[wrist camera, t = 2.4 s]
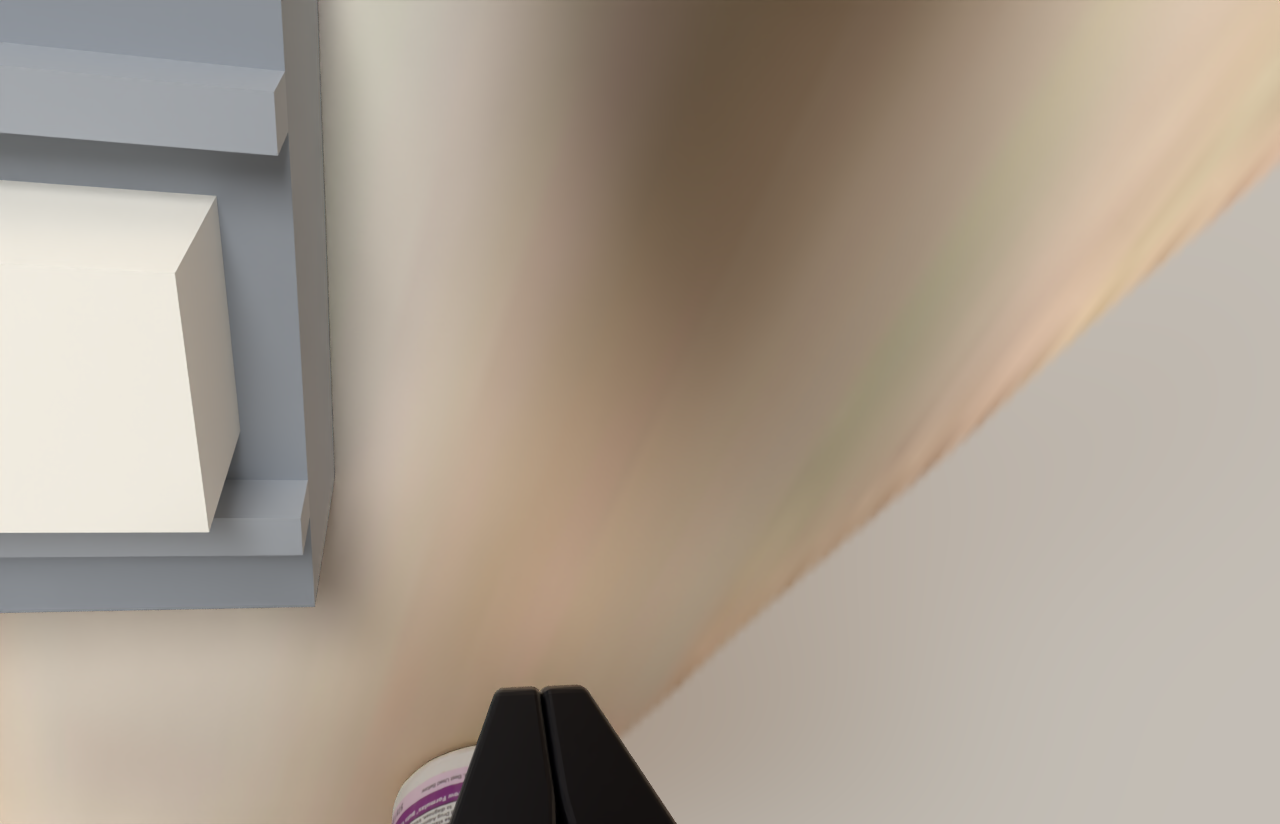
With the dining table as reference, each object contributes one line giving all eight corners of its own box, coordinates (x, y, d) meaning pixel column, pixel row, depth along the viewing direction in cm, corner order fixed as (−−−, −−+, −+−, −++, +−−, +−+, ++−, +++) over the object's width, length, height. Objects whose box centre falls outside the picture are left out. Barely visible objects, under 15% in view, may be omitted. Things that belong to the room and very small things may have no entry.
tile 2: (216, 195, 13) (175, 273, 11) (240, 431, 15) (209, 531, 13) (-115, 171, 12) (-228, 251, 10) (-40, 425, 14) (-120, 533, 12)
